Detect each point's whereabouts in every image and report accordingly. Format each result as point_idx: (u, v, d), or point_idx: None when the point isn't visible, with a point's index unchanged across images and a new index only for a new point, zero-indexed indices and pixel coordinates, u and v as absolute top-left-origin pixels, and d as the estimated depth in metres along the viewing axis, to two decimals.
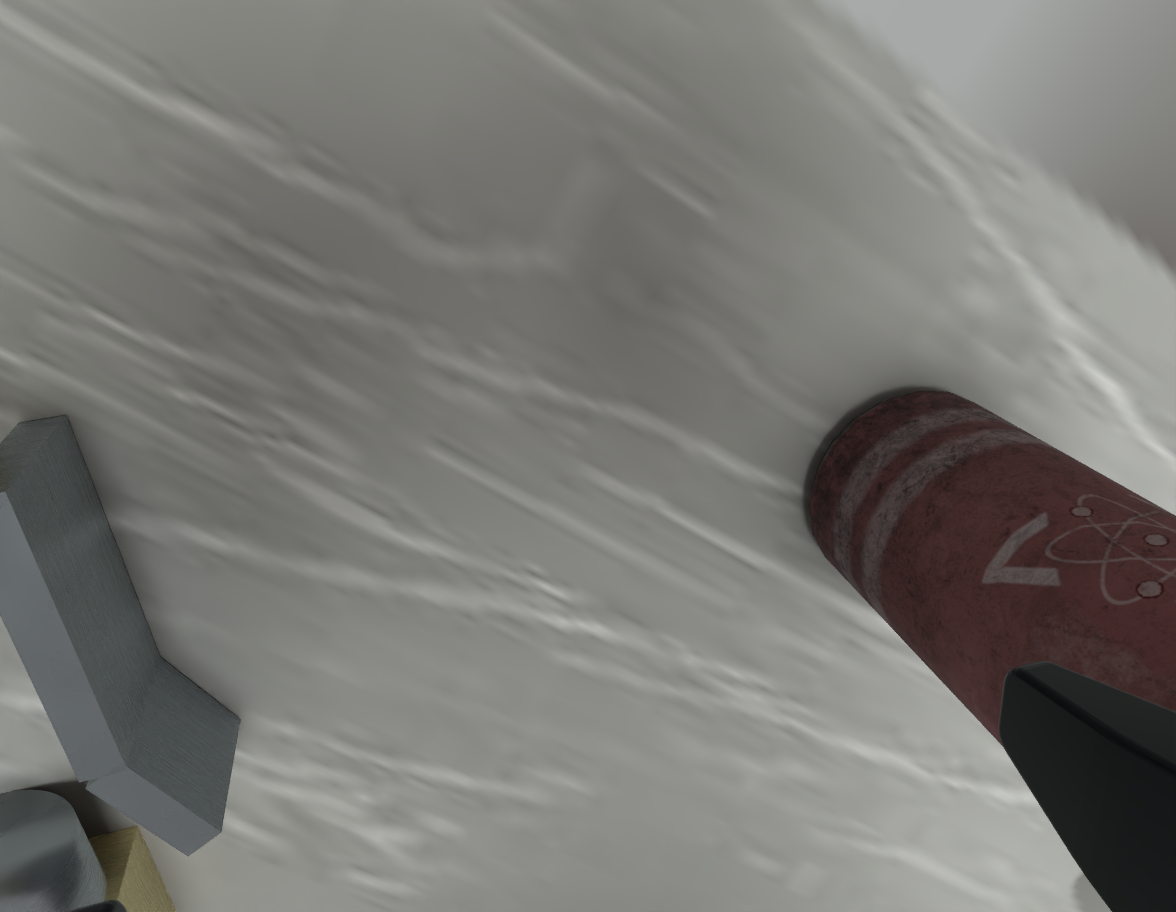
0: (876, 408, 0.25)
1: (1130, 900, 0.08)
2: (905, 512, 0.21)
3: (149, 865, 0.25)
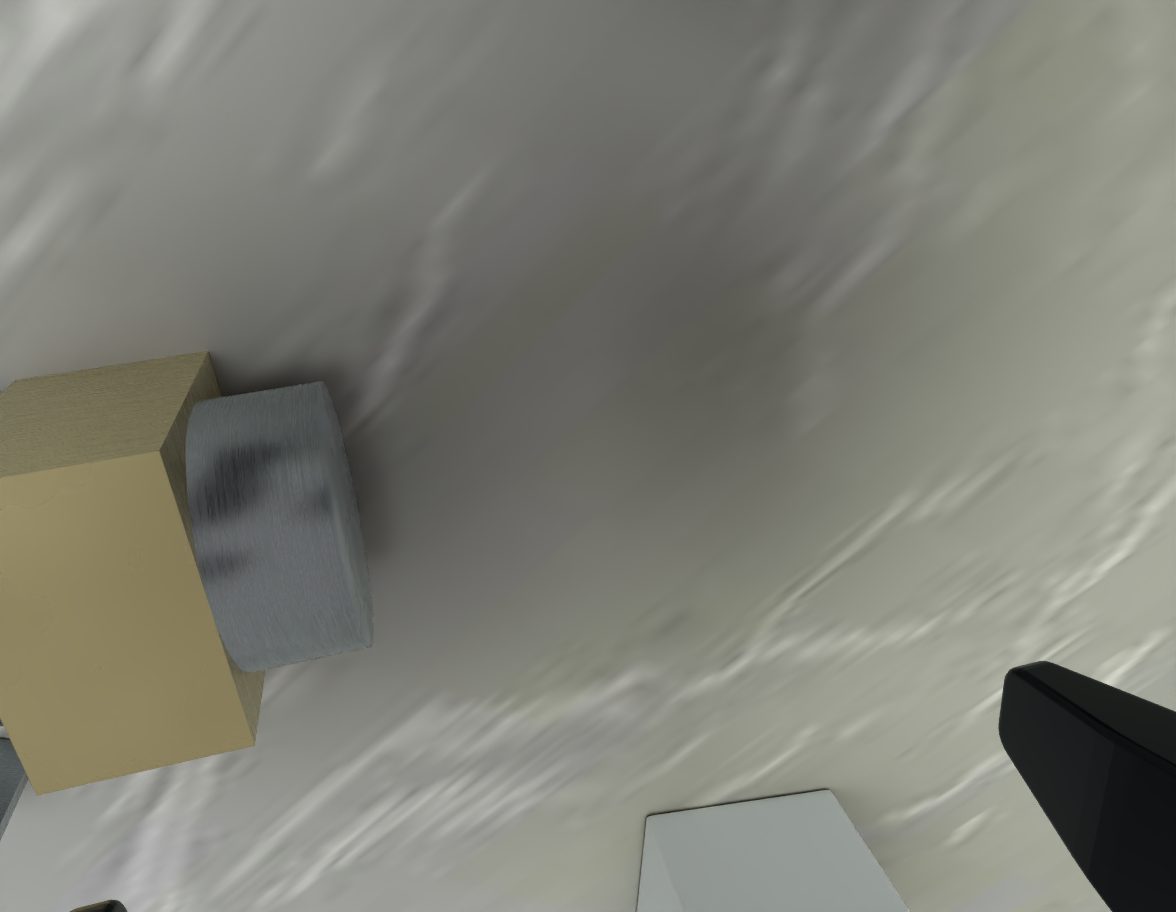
0: None
1: (1130, 900, 0.08)
2: None
3: (79, 375, 0.17)
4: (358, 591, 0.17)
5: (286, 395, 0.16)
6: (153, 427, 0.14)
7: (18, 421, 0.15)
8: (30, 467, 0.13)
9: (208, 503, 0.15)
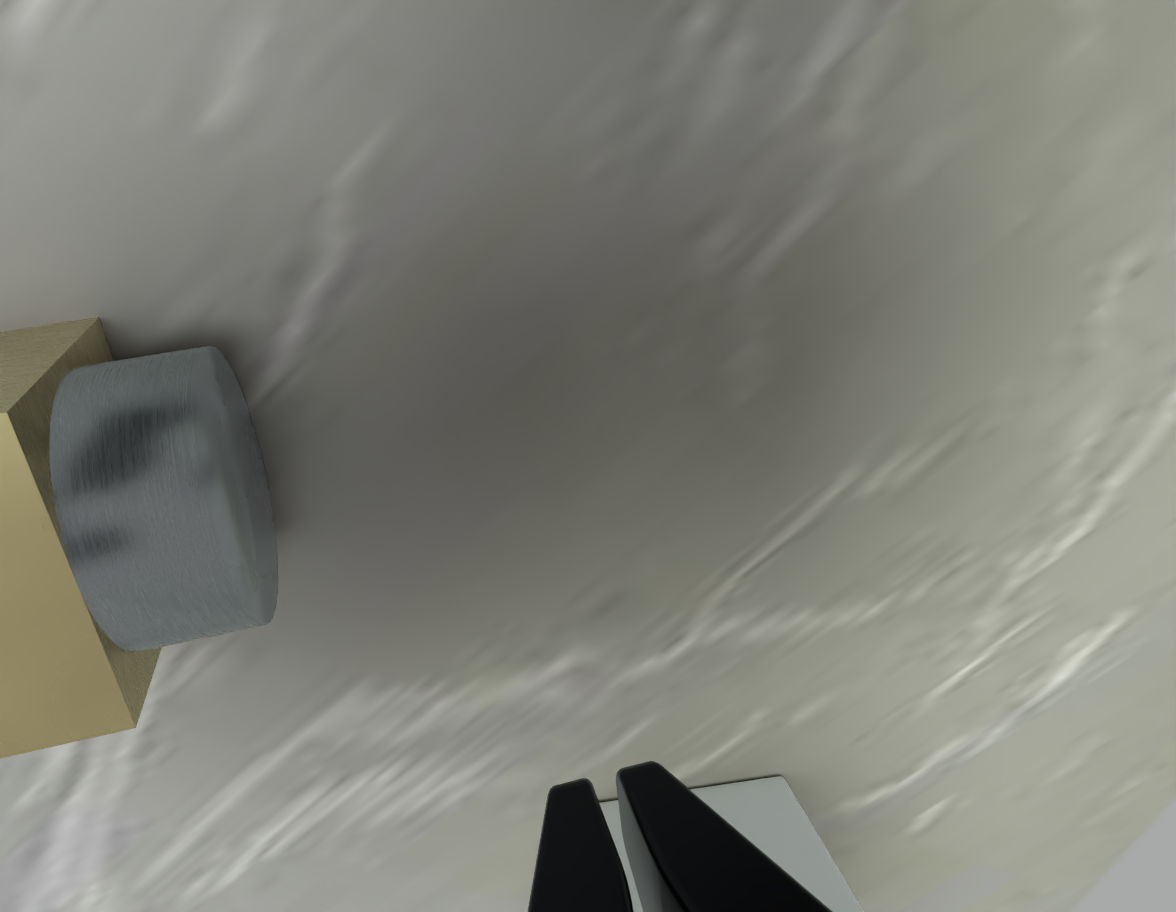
0: None
1: None
2: None
3: None
4: (249, 566, 0.16)
5: (166, 359, 0.15)
6: (11, 390, 0.14)
7: None
8: None
9: (71, 470, 0.14)
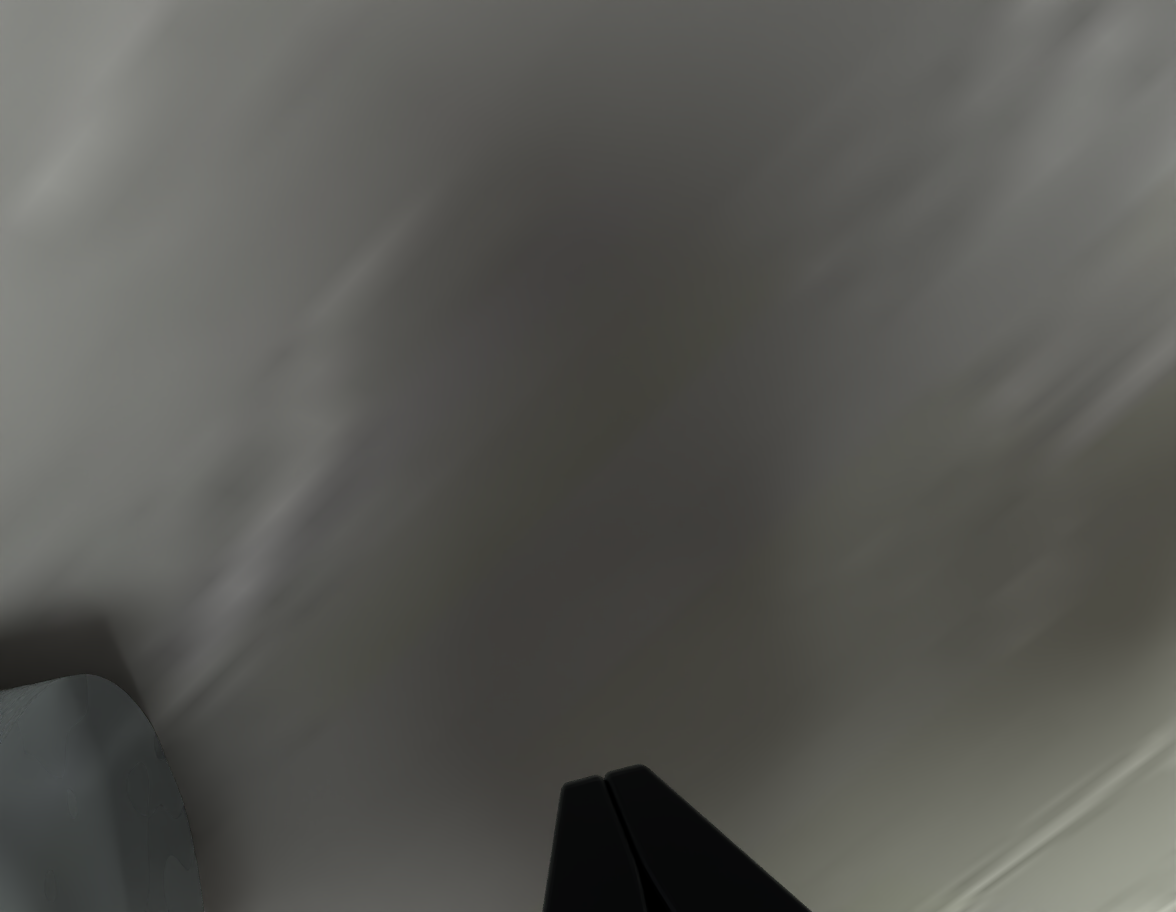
0: None
1: None
2: None
3: None
4: None
5: None
6: None
7: None
8: None
9: None
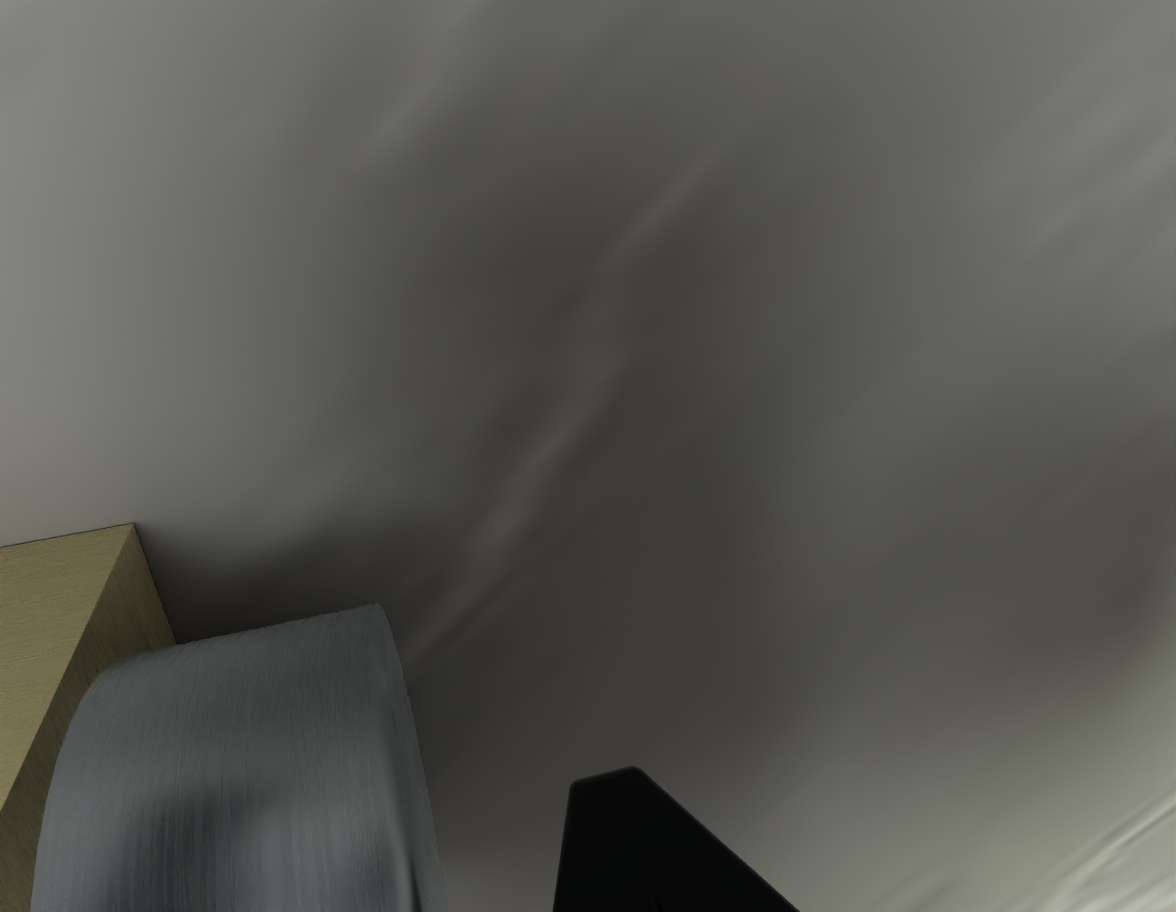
0: None
1: None
2: None
3: None
4: None
5: (296, 682, 0.07)
6: None
7: None
8: None
9: None
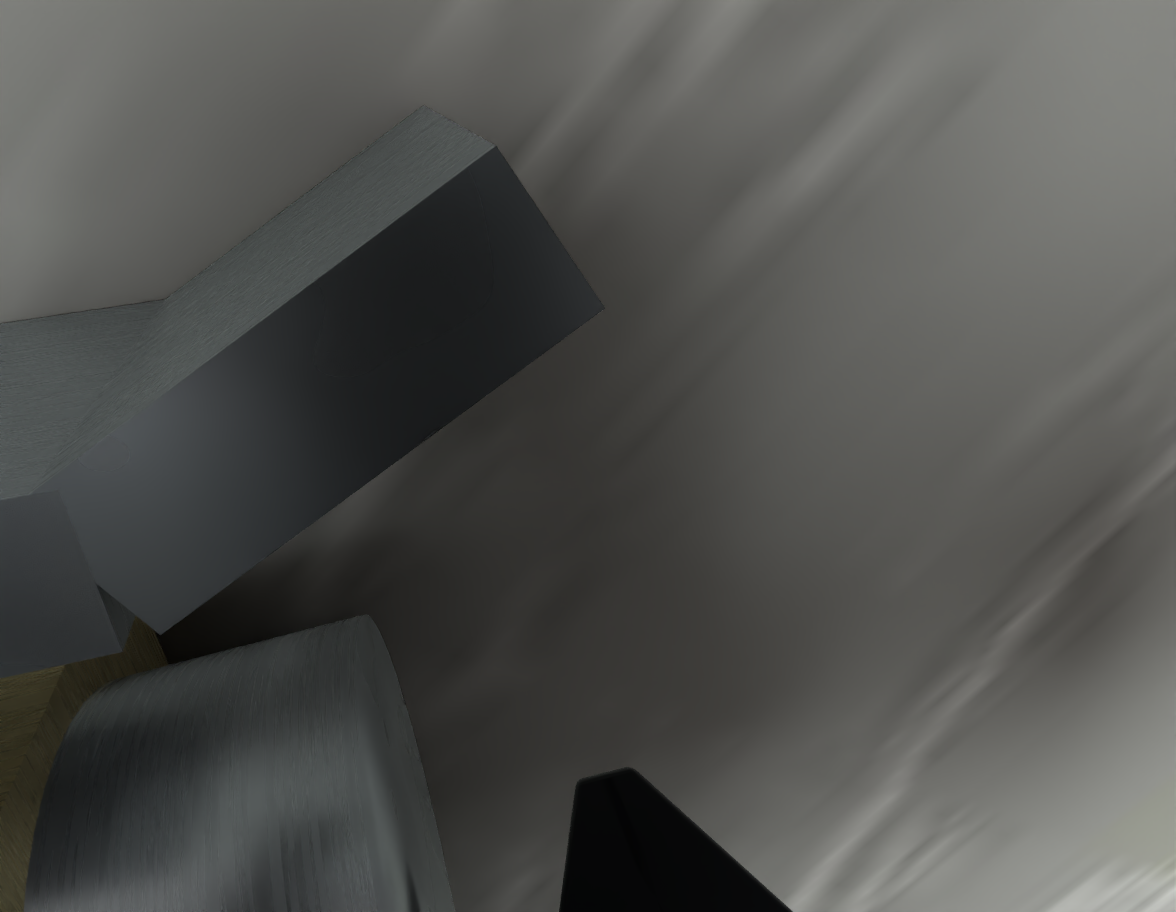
0: None
1: None
2: None
3: None
4: None
5: (283, 701, 0.07)
6: None
7: None
8: None
9: None
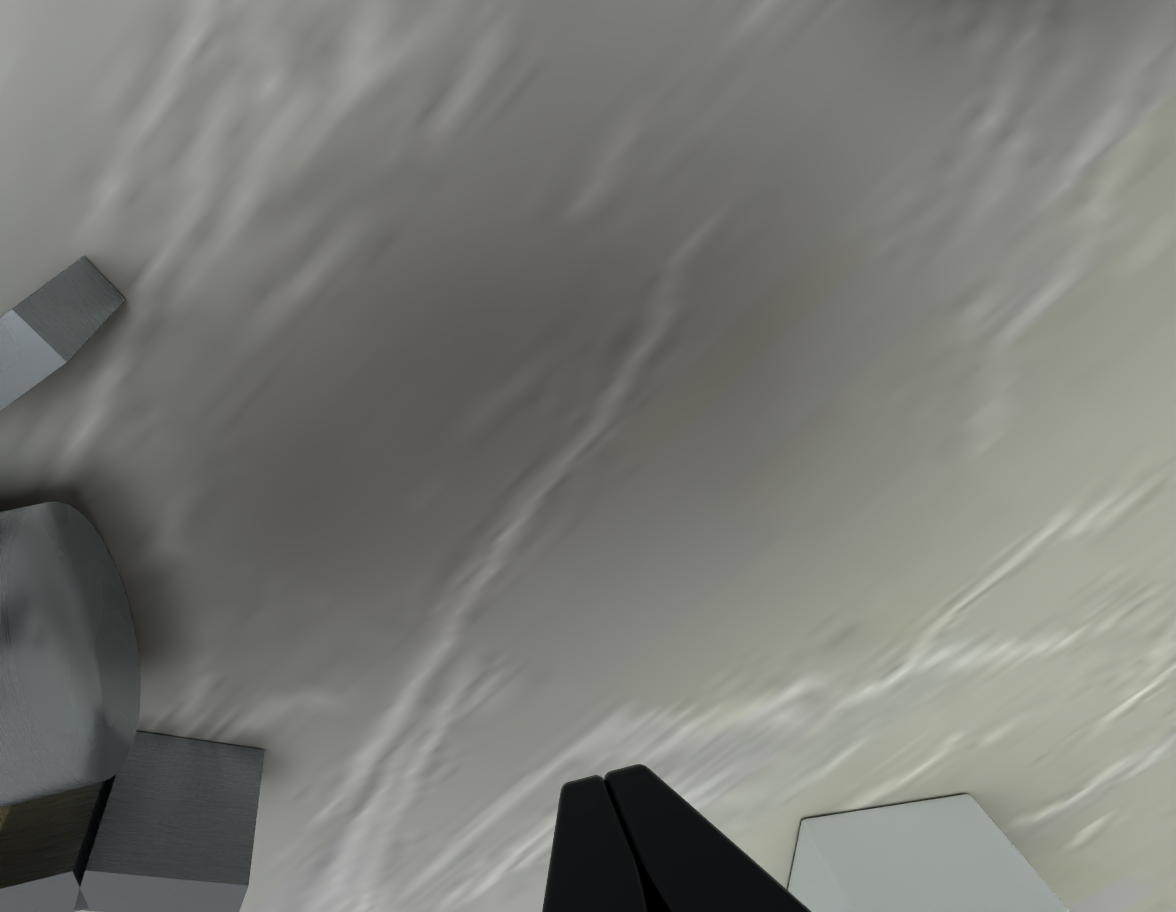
0: None
1: None
2: None
3: None
4: (87, 724, 0.16)
5: None
6: None
7: None
8: None
9: None
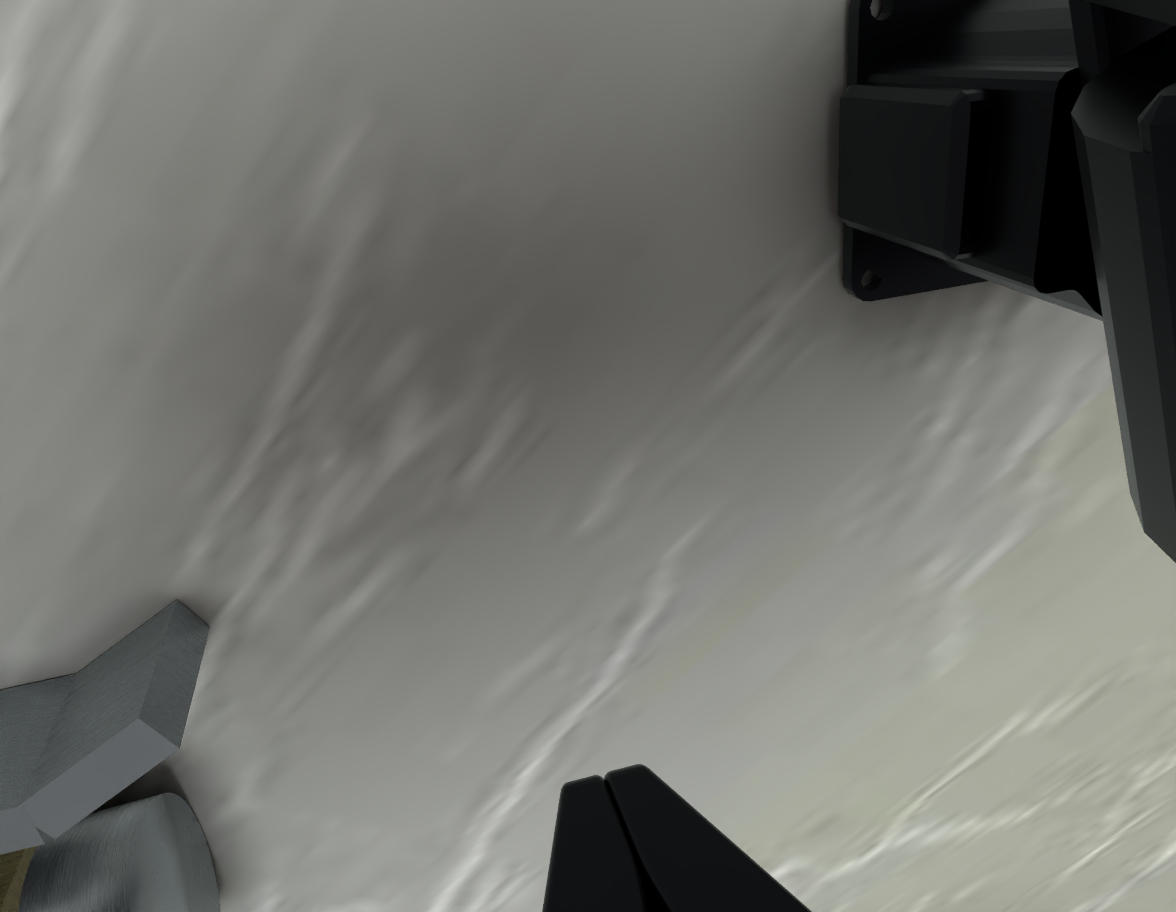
0: None
1: None
2: None
3: None
4: None
5: (111, 841, 0.19)
6: None
7: None
8: None
9: None
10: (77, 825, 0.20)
